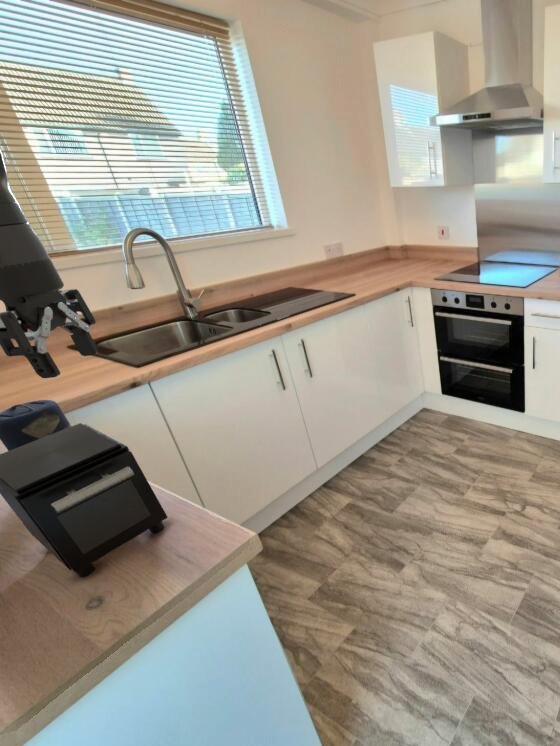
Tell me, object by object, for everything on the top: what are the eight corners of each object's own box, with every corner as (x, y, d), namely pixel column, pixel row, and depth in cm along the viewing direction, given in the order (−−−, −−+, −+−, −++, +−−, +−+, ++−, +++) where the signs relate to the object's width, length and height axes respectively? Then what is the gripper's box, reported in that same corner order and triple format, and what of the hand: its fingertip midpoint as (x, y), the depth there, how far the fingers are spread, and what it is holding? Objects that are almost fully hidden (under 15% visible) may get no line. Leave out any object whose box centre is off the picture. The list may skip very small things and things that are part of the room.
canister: (49, 498, 85) (-6, 421, 77) (27, 487, 89) (-27, 412, 80) (106, 469, 92) (62, 397, 84) (83, 460, 96) (39, 389, 88)
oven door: (179, 524, 72) (142, 457, 66) (86, 583, 62) (32, 510, 56) (165, 515, 74) (128, 449, 68) (72, 570, 64) (19, 499, 58)
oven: (172, 527, 76) (125, 443, 68) (80, 584, 66) (12, 493, 58) (130, 500, 83) (83, 421, 75) (41, 547, 73) (-24, 462, 65)
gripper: (22, 253, 65) (77, 351, 73) (-72, 273, 53) (5, 389, 60) (77, 249, 66) (126, 346, 74) (-2, 267, 54) (66, 381, 61)
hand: (72, 365), depth 67 cm, fingers open, 8 cm apart
